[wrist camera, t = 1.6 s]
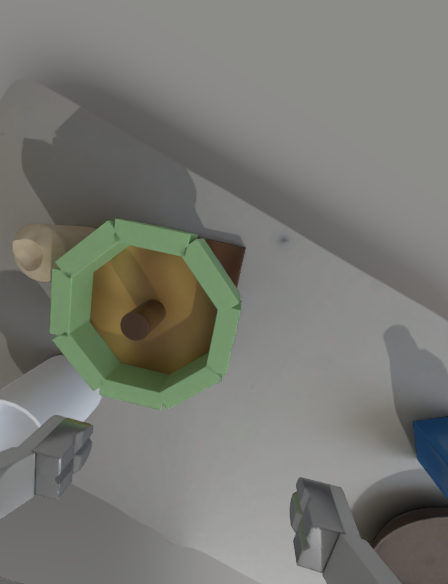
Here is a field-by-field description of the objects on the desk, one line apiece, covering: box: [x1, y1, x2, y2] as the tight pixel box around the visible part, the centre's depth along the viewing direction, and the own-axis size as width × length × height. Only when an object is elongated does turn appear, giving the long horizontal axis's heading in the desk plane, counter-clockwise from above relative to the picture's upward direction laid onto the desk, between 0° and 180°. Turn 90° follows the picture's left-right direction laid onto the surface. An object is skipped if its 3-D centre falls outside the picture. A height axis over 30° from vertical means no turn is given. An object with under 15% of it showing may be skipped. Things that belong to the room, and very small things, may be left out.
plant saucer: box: [371, 508, 448, 584], centre depth 36 cm, size 21×21×3 cm
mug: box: [0, 355, 102, 452], centre depth 33 cm, size 13×10×10 cm
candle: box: [12, 224, 97, 282], centre depth 27 cm, size 6×6×10 cm
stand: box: [90, 237, 246, 375], centre depth 26 cm, size 14×14×13 cm
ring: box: [50, 218, 242, 410], centre depth 22 cm, size 16×16×3 cm
